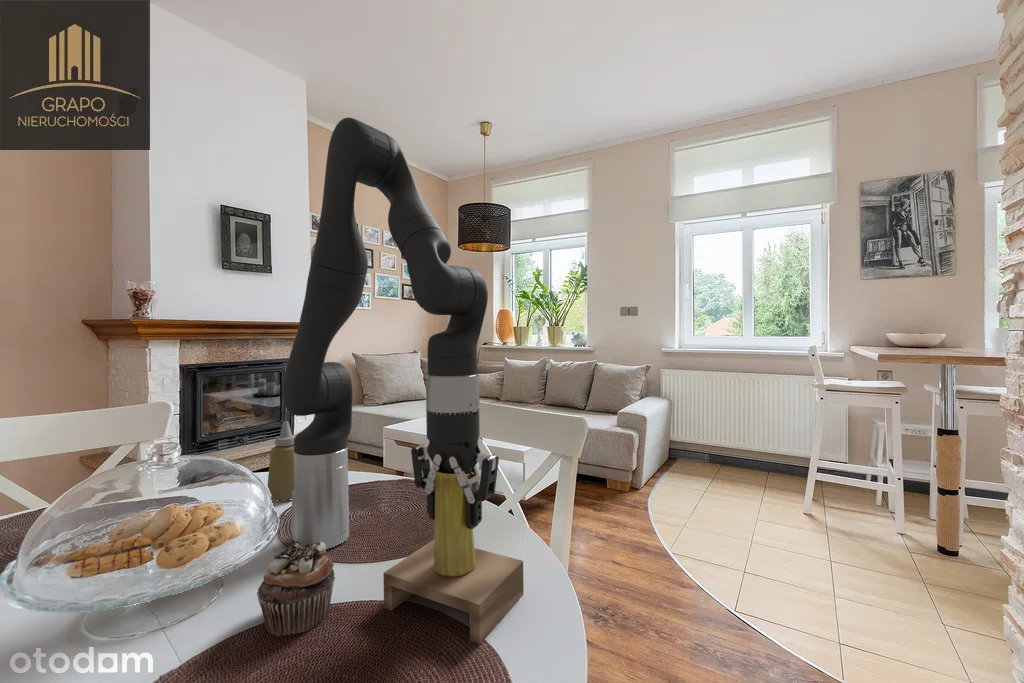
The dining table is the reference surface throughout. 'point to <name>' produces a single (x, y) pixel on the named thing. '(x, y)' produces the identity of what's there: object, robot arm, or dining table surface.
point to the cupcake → (297, 589)
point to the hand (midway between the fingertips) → (454, 521)
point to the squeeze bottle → (282, 465)
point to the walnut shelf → (459, 587)
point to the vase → (452, 528)
